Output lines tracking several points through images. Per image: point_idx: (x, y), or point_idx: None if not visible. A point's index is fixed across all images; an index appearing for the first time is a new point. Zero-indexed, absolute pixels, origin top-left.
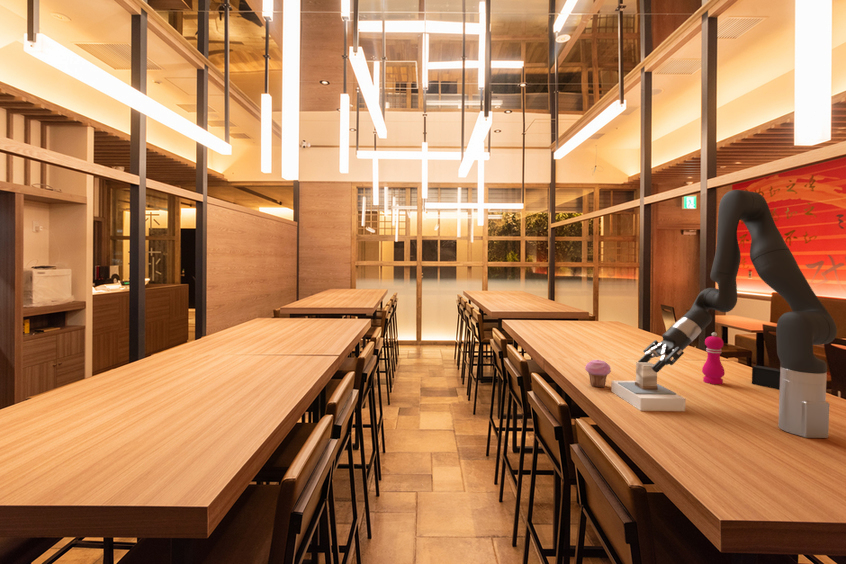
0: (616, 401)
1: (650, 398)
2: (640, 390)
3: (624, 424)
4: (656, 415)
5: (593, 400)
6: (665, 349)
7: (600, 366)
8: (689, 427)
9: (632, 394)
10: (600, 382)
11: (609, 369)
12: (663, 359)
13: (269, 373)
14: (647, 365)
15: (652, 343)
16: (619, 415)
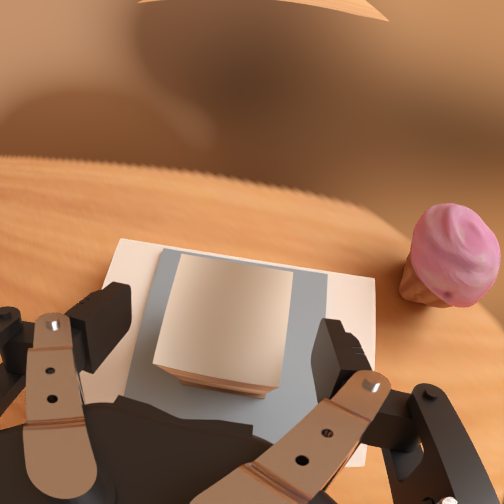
0: (236, 245)
1: (108, 273)
2: None
3: (84, 170)
4: (89, 281)
5: (256, 185)
6: (28, 403)
7: (434, 228)
8: (11, 298)
9: (179, 250)
10: (405, 271)
11: (436, 278)
12: (39, 320)
13: (362, 8)
14: (176, 286)
15: (474, 491)
16: (127, 186)
